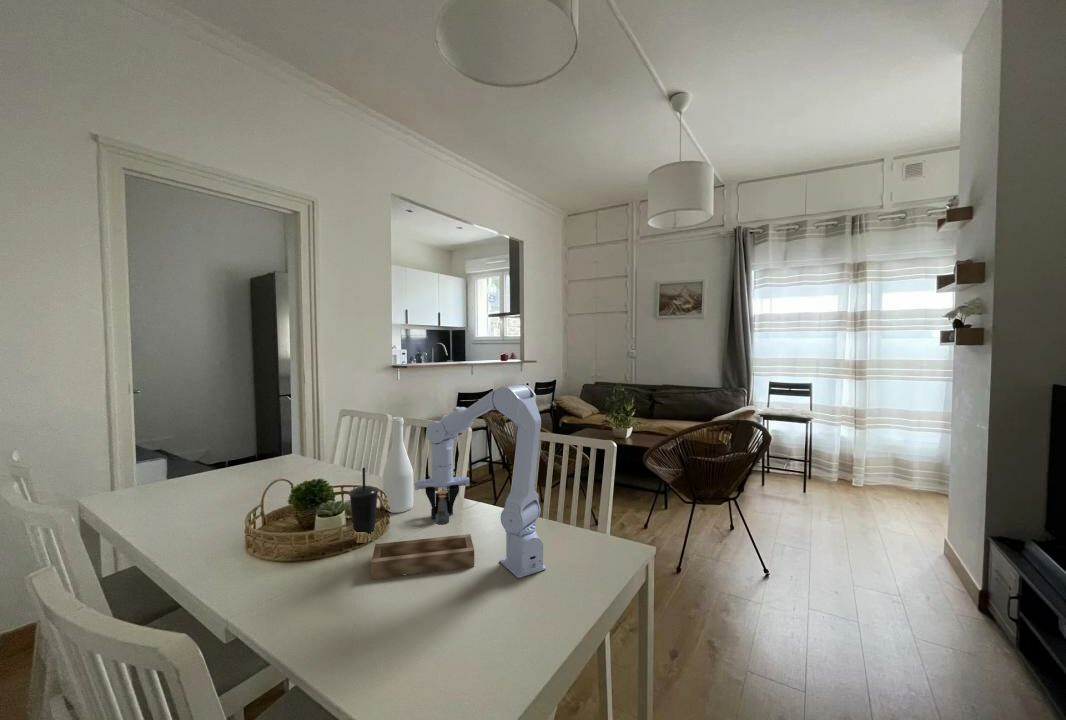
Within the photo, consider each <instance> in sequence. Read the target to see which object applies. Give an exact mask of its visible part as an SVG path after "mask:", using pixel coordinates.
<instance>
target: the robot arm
mask: <svg viewBox="0 0 1066 720" xmlns="http://www.w3.org/2000/svg"><path fill="white" fill-rule="evenodd" d="M536 400H537V394H536V393H535V391H534V390H533V389H532V388H531V387H530V386H528V385H527V384H526V383H518V384H516V385H510V386H501V387H498V388H497V389H495V390H491V391H489V393H487V394H486V395H485V396H483V397H481V398H480V399H479V400H477V401H475V402H474V403H473V404H471V405H470V406H468V407H465V406H461V407H460V406H456V407H454V408H452V412H450V413H449V414H447V415H443V416H441V418H440V420H438V421H436V420H434V421H431V422H430V423H429V424H428V425H427V427H426V430H425V431H426V437H427V439H428V440H429V441H430V442H431V443H430V447H431V448H430V451H431V452H430V453H431V455H430V457H431V458H430V459H431V462H430V463H431V478H427V479H421V480H415V481H414V491H419V490H425V494H426V496H427V499H428V501H429V502H430V506H431V509H432V510H433V516H434V515H436V507H435V506H436V505H435V492H436V489H437V488H440V489H441V488H442V487H449V514H452V508H453V509H454V505H455V501H456V499H457V496H458V495H459V493H460V487H463V486H465V487H470V477H468V476H467V477H466V476H465V477H464V476H463V477H462V476H458V477H457V476H454V475H453V474H454V472H453V471H454V466H453V465H454V464H453V463H454V459H453V457H454V454H453V453H454V452H453V451H454V450H453V449H454V444H455V438H456V437H457V435H458V434H461V433H462V432H463V431H465V430H467V429H468V428H470V427H472V426H473V425H474V420H475V419H476V418H478V417H480V416H482V415H484V414H486V413H488V412H490V411H491V410H493V411H495V410H497V411H498V412H499V413H500V414H502V415H503V416H505V417H506V418H507V419H509V420H511V421H512V422H513V423H514V424H515V425H516V426H517V435H516V443H515V444H516V446H515V454H514V463H513V464H514V465H513V474H512V484H511V491H510V492H509V494H508V496H507V498H506V499H505V503H504V508H503V510H502V511H501V513H500V523H501V526H502V527H503V529H504V530H505V533H506V535H505V536H506V537H505V539H506V540H505V541H506V544H505V545H506V547H505V549H506V554H505V555H506V556H505V557H502V558H499V562H500V563H501V564H502V565H503V566H504V567H505V569H506V568H507V570H508V571H509V572H510V573H512V574H513V576H515V577H516V578H518V579H521V578H524V577H526V576H529V575H532V574H536V573H539V572H541V571H544V570H546V569H547V566H546V565H545V564H544V544H543V541H542V539H541V538H540V537H539V536H538V534H537V528H536V526H537V520H538V519H539V517H540V515H541V512H542V511H541V510H542V509H541V506H540V501H539V497H540V495H539V493H538V492H537V491H536V490H535V484H536V474H537V465H538V457H539V446H540V437H541V436H540V435H541V426H542V418H541V415H540V411H539V409H538V405H537V401H536Z"/></svg>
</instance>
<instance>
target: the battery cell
mask: <svg viewBox="0 0 1066 720" xmlns="http://www.w3.org/2000/svg"><path fill="white" fill-rule="evenodd" d="M435 506H436V520H435V524H436V525H438V526H445V525H448V524H449V523H450V517H449V492H447V491H442V490H440V491H438V492H436V505H435Z"/></svg>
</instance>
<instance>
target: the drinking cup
mask: <svg viewBox="0 0 1066 720" xmlns="http://www.w3.org/2000/svg"><path fill="white" fill-rule="evenodd" d="M361 476H362V485H360V486H357V487H354V488H353V489H351V490H350V491H348V496H349V498H350V508H351V519H352V527H353V531H354V530H355V531H356V532H367V533H368V534H369V533H370V534H371V532H373V531H374V532H375V529H374V528H375V526H376V517H377V516H376V515H377V504H378V503H377V502H378V494H379V491H380V489H379V488H378V487H376V486H373V485H366V467H362V475H361Z"/></svg>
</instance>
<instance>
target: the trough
mask: <svg viewBox="0 0 1066 720" xmlns="http://www.w3.org/2000/svg"><path fill="white" fill-rule="evenodd" d="M473 543H474V542H473V540H472V536H471V534H470V533H468V534H461V535H460V534H459V535H450V536H448V535H447V536H440V537H430V538H429V537H428V538H422V539H421V538H420V539H413V540H411V539H410V540H409V539H408V540H402V541H401V540H400V541H391V542H382V543H375V544H374V548H373V553H372V555H371V556H372V558H371V559H370V578H371V580H377V578H378V579H385V578H384V577H386V578H391V577H390V576H394V577H398V576H397V575H403V576H405V575H404V574H411V575H414V574H413V573H419V574H421V573H420V572H427V573H432V572H433V571H435V572H440V571H439V570H443V571H447V570H446V569H451V570H458V569H457V568H459V569H467V568H474V567H475V548H474V544H473Z"/></svg>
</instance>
